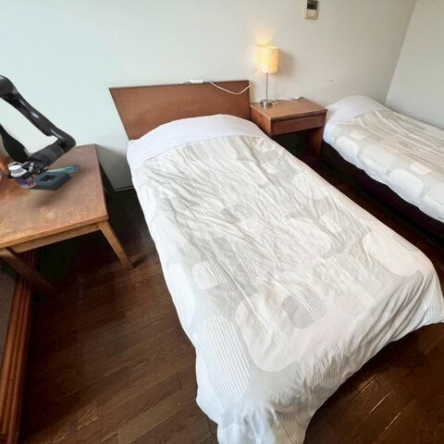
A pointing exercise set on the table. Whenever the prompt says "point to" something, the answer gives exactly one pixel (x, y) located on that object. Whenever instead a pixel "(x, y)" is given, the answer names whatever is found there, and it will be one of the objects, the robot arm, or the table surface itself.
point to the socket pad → (55, 182)
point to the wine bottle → (14, 147)
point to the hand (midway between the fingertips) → (15, 177)
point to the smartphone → (65, 169)
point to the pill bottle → (17, 173)
